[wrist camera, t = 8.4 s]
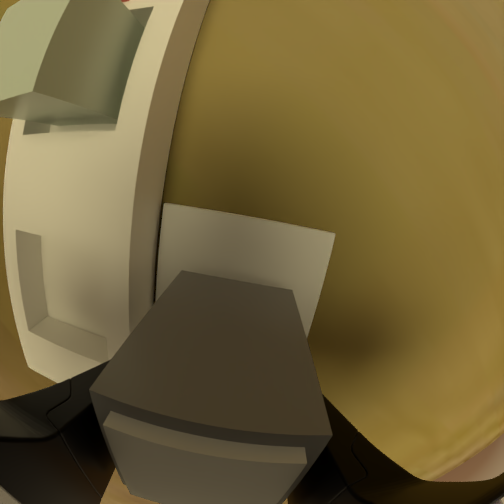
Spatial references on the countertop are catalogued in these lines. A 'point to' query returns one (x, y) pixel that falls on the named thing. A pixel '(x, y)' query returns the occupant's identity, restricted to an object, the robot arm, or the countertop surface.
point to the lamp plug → (66, 60)
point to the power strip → (95, 206)
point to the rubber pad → (244, 252)
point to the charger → (213, 396)
